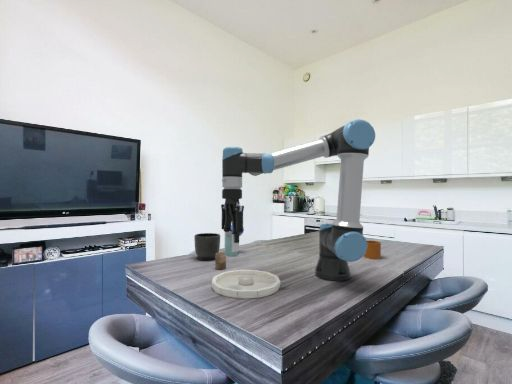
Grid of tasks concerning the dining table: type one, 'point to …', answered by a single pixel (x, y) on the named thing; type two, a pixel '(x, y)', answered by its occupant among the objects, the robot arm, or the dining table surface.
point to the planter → (207, 245)
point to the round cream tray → (245, 284)
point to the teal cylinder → (229, 247)
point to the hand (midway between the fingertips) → (231, 249)
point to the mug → (373, 250)
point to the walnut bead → (220, 261)
